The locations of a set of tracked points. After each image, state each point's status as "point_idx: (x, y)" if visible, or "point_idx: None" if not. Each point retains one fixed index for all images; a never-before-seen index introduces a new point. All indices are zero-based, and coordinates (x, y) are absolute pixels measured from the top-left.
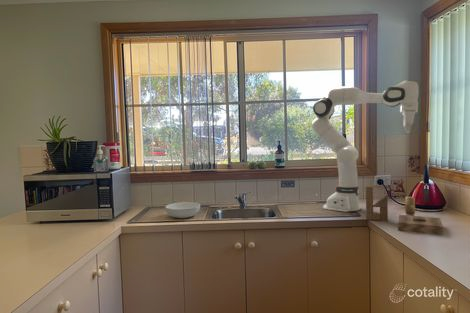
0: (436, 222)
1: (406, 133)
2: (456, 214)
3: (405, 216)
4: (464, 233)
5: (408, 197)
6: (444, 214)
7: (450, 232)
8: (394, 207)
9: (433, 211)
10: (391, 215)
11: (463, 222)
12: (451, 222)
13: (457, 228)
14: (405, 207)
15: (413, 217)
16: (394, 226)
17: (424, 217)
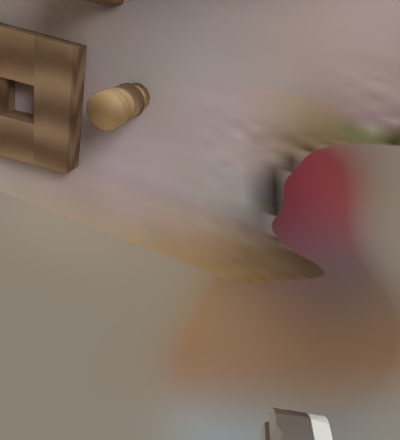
0: (5, 144)
1: (270, 431)
2: (232, 260)
3: (53, 65)
4: (23, 197)
5: (101, 103)
6: (229, 228)
7: (19, 168)
8: (349, 84)
9: (272, 212)
10: (191, 37)
11: (135, 239)
12: (128, 210)
13: (66, 200)
14: (122, 86)
15: (46, 91)
16: (27, 15)
17: (58, 128)
